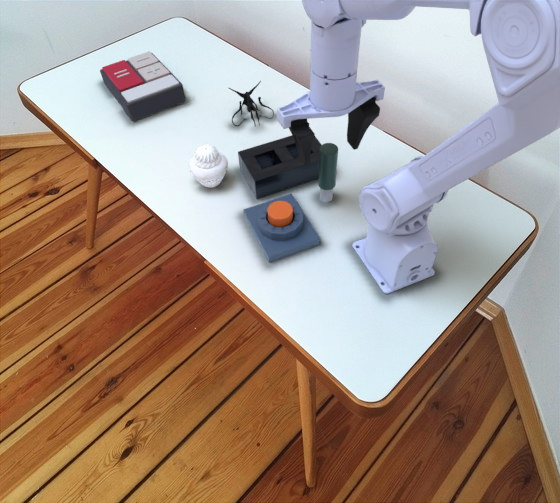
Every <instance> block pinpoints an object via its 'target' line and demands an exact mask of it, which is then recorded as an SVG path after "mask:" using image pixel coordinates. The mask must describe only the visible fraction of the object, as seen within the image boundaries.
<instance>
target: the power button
mask: <svg viewBox="0 0 560 503" xmlns="http://www.w3.org/2000/svg"><path fill="white" fill-rule="evenodd" d="M267 211H268V221H269V222H270V224H271V225H273V226H275V227H285V226H287V225H289V224H290V223H291V222H292V220H293V208H292V206H291V205H290V204H289V203H288V202H285V201H276V202H273V203H272V204H270V205H269V207H268V210H267Z"/></svg>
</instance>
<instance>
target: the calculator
mask: <svg viewBox="0 0 560 503" xmlns="http://www.w3.org/2000/svg"><path fill="white" fill-rule="evenodd" d="M99 72H100V75H101V78H102V82H103V84H104V85H105V86H106V88H107V89H108V91H109V92H110V93H111V94H112V96H113V97H114V99H115V100H116V101H117V102H118V104H119V105H120V106H121V108H122V110H123V112H124V113H125V114H126V116H127V117H128V118H129V119H130V121H131V122H136V121H139V120H141V119H144V118H147V117H149V116H151V115H155V114H157V113H159V112H163V111H165V110H168V109H170V108H173V107H176V106H178V105H181V104H183V103H185V102H187V98H186V94H185V90H184V84H183V83H182V82H181V81H180V80H179V79H178V78H177V76H175V75H174V74H173V73H172V72H171V71H170V69H169V68H168V67H166V66H165V64H163V62H161V60H160V59H159V58H158V57H157V56H156V55H155V54H154V53H152V52H151V51H146V52H143V53H139V54H137V55H133V56H131V57H128V58H127V60H125V59H123V60H119V61H117V62H113V63H110V64H108V65H105V66H102V67H101V69H100V70H99Z"/></svg>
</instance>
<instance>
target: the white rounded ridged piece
mask: <svg viewBox="0 0 560 503" xmlns="http://www.w3.org/2000/svg"><path fill="white" fill-rule="evenodd" d="M228 167H229V161H228V158H227V157H226V156H225V153H222V152H221V151H218V149H217V147H216V146H214V145H211V144H202V145H201V146H198V148H196V150H195V152H194V155H192V157H191V158H190V160H189V162H188V169H189V172H190V174H191V175H192V176H193V178H194V179H195V180H196V181H197V182H198V183H200V184H201V185H202V186H203V187H205V188H209V189H210V188H211V189H212V188H216V187H217V186H219V185H220V184H222V183H221V182H222V181H223V180H224V177H225V176H226V174H227V171H228Z"/></svg>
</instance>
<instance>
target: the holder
mask: <svg viewBox="0 0 560 503" xmlns="http://www.w3.org/2000/svg"><path fill="white" fill-rule="evenodd" d="M321 145H322V142H320V141H319V139H318V138H317V136H316V135H314V137H313V140H312V144H311V159H310V164H308V165H304V163H303V162H302V161H301V159H300V158H299V153H298V149H297V146H296V143H295V140H294V138H293V135H292V134H291V135H288V136H284V137H282V138H279V139H276V140H275V139H274V140H271V141H268V142H265V143H262V144H259V145H256V146H252V147H248V148H246V149H242V150H238V151H237V157H238V166H239V171H240V173H241V175H242V176H243V178H244V180H245V182H246V184H247V185H248V187H249V188H250V190H251V192H252V195H253V196H254V198H255V199H256V200H260V199H262V198H264V197H268V196H271V195H275V194H278V193H281V192H283V191H286V190H289V189H292V188H295V187H299V186H301V185H304V184H308V183H311V182H314V181H316V180H319V156H320V147H321Z"/></svg>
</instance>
